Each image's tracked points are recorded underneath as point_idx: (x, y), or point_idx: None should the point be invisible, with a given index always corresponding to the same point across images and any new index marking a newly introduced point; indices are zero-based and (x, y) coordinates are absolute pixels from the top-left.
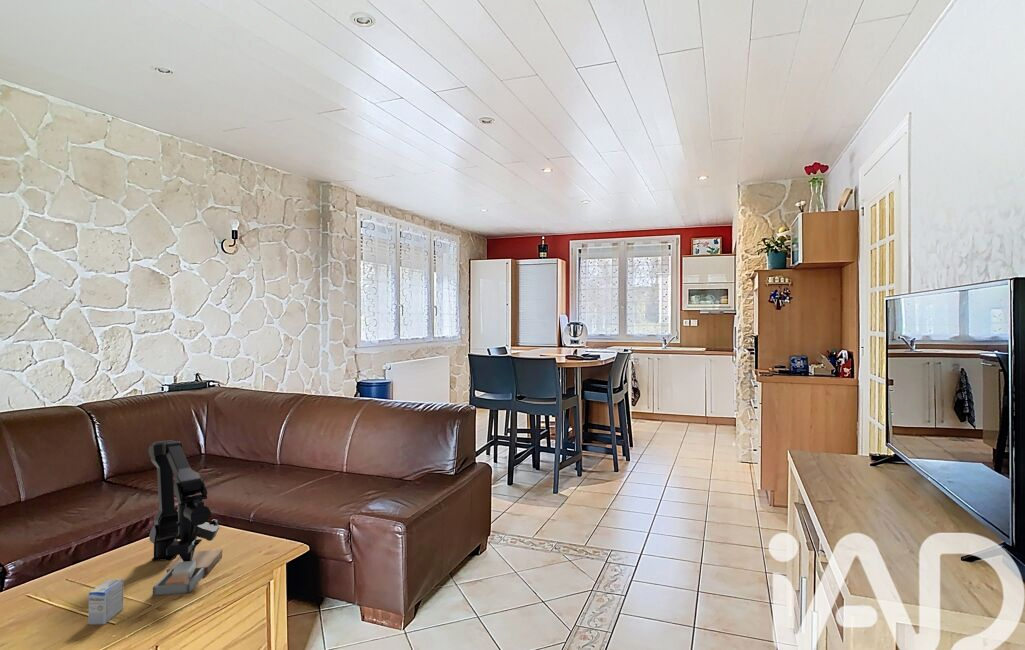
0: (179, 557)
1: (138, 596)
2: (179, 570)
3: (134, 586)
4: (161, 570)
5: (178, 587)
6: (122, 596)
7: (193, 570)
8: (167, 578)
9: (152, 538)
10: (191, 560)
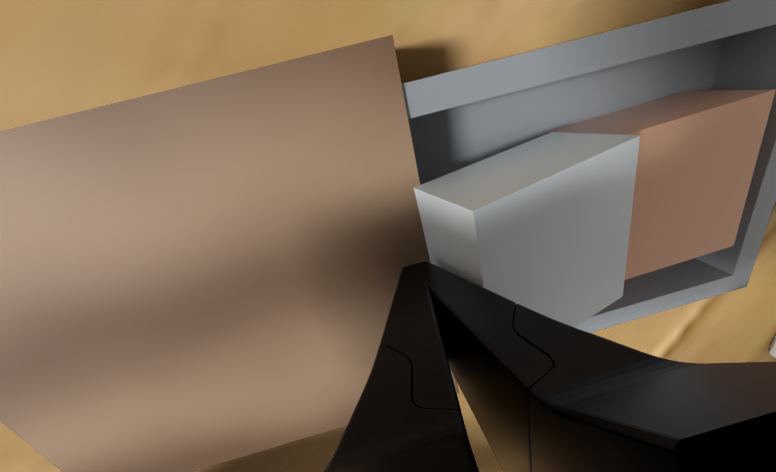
0: (219, 459)
1: (665, 321)
2: (608, 260)
3: None
4: (339, 431)
5: None
6: None
7: (494, 164)
8: None
9: None
10: (413, 285)
